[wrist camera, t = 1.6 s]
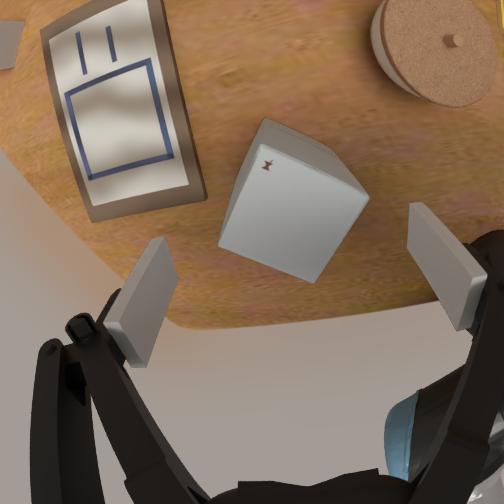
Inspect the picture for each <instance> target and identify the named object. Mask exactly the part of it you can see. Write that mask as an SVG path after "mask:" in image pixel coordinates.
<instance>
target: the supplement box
mask: <svg viewBox="0 0 504 504" xmlns="http://www.w3.org/2000/svg"><path fill="white" fill-rule="evenodd" d="M369 199H370V197H369V195H368V194H367V192H366V191H365V190H364V188H363V187H362V186H361V184H360V183H359V182H358V180H357V179H356V178H355V177H354V175H353V174H352V173H351V172H350V171H349V169H348V168H347V167H346V166H345V165H344V163H343V162H342V161H341V160H340V159H339V158H338V156H337V155H336V154H335V153H334V151H333V150H332V149H331V148H329V147H327V146H326V145H324V144H322V143H320V142H318V141H316V140H314V139H312V138H310V137H308V136H306V135H304V134H302V133H300V132H297V131H295V130H293V129H291V128H289V127H286V126H284V125H282V124H280V123H277V122H275V121H273V120H270V119H268V118H264V119H263V121H262V123H261V125H260V127H259V129H258V131H257V133H256V135H255V137H254V139H253V142H252V144H251V146H250V148H249V150H248V152H247V154H246V157H245V159H244V161H243V164H242V166H241V168H240V171H239V173H238V176H237V178H236V180H235V184H234V187H233V191H232V194H231V198H230V201H229V205H228V208H227V211H226V215H225V218H224V222H223V225H222V229H221V233H220V236H219V240H218V247H220V248H223V249H226V250H228V251H231V252H233V253H236V254H239V255H241V256H244V257H246V258H249V259H251V260H254V261H256V262H259V263H262V264H264V265H267V266H269V267H272V268H275V269H277V270H280V271H282V272H285V273H287V274H290V275H292V276H295V277H297V278H300V279H303V280H305V281H308V282H310V283H315V281H316V280H317V278H318V277H319V275H320V274H321V272H322V271H323V269H324V268H325V266H326V265H327V263H328V262H329V260H330V259H331V257H332V256H333V254H334V253H335V251H336V250H337V248H338V246H339V245H340V243H341V242H342V241H343V239H344V238H345V236H346V235H347V233H348V232H349V230H350V229H351V227H352V226H353V224H354V223H355V221H356V220H357V218H358V216H359V215H360V213H361V212H362V210H363V209H364V207H365V206H366V204H367V203H368V201H369Z"/></svg>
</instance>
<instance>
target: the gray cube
mask: <svg viewBox="0 0 504 504" xmlns="http://www.w3.org/2000/svg"><path fill="white" fill-rule="evenodd" d="M24 25H25V21H0V70H2V69H9V68H14V66H15V61H16V56H17V52H18V48H19V44H20V40H21V36H22V32H23V28H24Z"/></svg>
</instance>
